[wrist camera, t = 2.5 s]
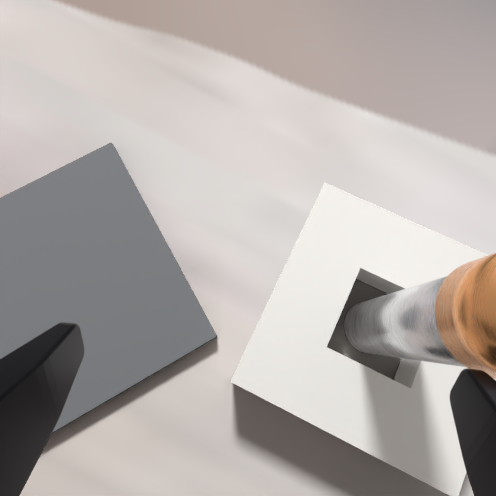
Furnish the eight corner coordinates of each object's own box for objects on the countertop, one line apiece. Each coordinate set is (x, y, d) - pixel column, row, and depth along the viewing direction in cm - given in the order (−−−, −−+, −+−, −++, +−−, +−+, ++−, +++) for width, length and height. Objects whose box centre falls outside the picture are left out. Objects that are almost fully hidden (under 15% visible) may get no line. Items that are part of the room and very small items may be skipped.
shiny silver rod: (407, 313, 22) (658, 276, 9) (386, 367, 22) (623, 421, 8) (354, 288, 23) (513, 214, 9) (331, 340, 22) (467, 347, 8)
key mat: (217, 336, 22) (216, 336, 21) (25, 448, 21) (18, 452, 20) (114, 146, 25) (111, 142, 24) (-61, 234, 23) (-69, 232, 23)
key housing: (499, 280, 23) (530, 273, 20) (432, 479, 20) (457, 500, 18) (316, 198, 24) (324, 182, 21) (232, 376, 21) (230, 381, 19)
